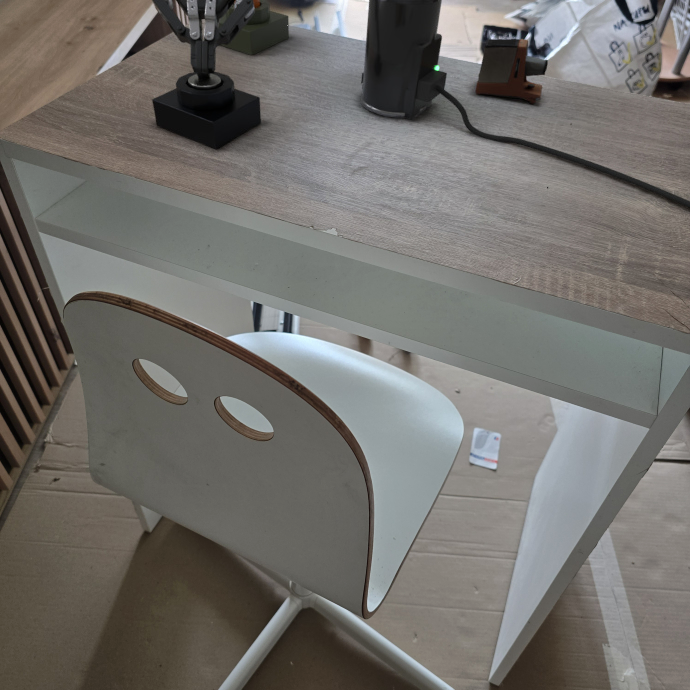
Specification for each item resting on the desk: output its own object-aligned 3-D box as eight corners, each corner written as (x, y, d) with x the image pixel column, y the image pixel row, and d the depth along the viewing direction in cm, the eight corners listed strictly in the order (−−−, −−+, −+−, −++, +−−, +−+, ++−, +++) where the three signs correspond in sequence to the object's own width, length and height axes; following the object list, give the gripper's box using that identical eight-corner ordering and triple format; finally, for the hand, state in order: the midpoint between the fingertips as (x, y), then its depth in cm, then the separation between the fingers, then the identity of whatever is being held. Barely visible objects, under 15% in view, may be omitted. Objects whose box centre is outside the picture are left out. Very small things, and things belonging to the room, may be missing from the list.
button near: (229, 97, 77) (227, 78, 75) (208, 108, 74) (205, 89, 73) (205, 88, 78) (203, 70, 76) (183, 99, 76) (181, 80, 74)
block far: (247, 25, 105) (244, -10, 101) (288, 38, 102) (288, 2, 98) (208, 41, 99) (204, 4, 95) (251, 55, 96) (249, 17, 92)
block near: (261, 123, 80) (259, 81, 76) (216, 149, 74) (211, 106, 70) (203, 102, 83) (198, 61, 79) (156, 125, 78) (149, 83, 74)
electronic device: (538, 105, 88) (553, 52, 83) (473, 95, 90) (484, 41, 84) (540, 94, 91) (555, 41, 86) (477, 84, 93) (487, 31, 87)
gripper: (141, -92, 70) (140, 58, 70) (256, -84, 71) (254, 64, 71) (156, -50, 77) (155, 85, 77) (260, -44, 78) (259, 90, 78)
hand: (203, 75), depth 74 cm, fingers closed
